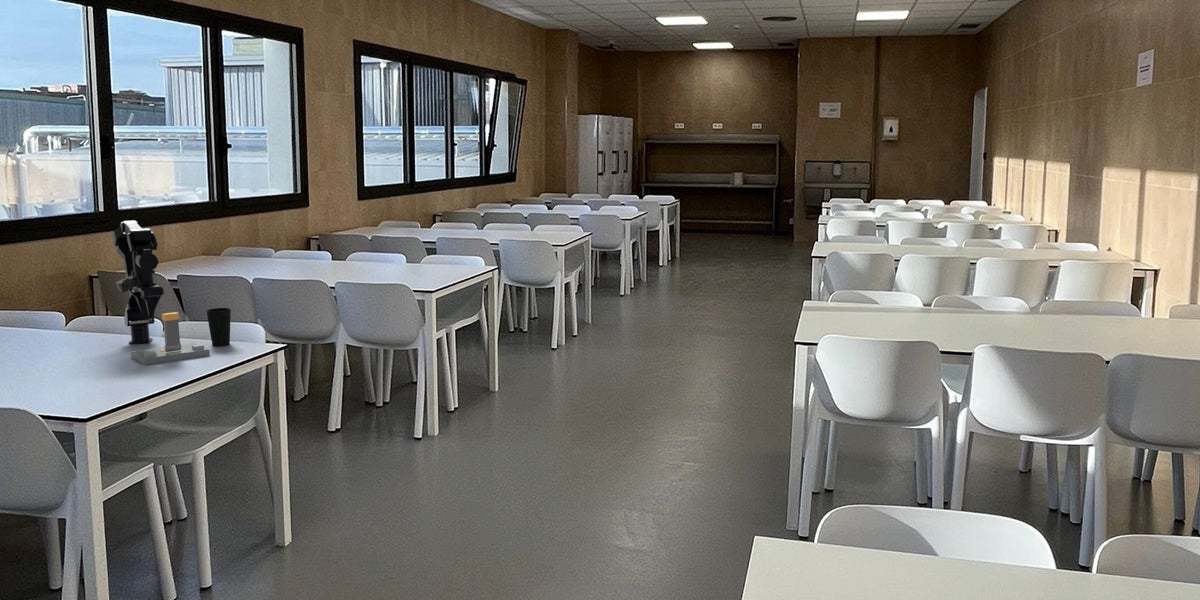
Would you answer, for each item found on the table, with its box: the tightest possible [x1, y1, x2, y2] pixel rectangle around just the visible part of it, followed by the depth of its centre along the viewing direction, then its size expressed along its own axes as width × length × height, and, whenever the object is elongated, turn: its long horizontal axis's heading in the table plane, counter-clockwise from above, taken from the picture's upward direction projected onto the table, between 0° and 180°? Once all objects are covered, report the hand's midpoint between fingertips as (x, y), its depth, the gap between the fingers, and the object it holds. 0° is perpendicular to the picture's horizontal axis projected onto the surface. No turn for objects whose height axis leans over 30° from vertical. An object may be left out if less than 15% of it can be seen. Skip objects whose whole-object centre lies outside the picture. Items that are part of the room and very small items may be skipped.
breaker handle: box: [161, 311, 182, 352], centre depth 330 cm, size 2×4×12 cm, turn 131°
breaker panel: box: [130, 342, 211, 366], centre depth 333 cm, size 14×20×3 cm
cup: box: [206, 307, 232, 348], centre depth 349 cm, size 8×8×12 cm
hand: (147, 314), depth 341 cm, fingers open, 7 cm apart
